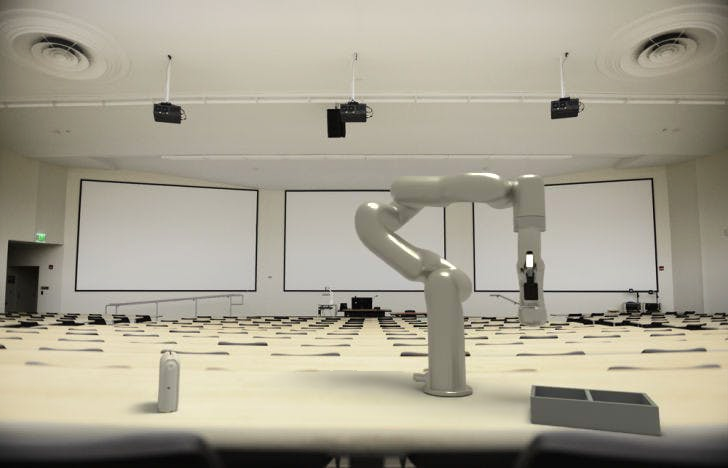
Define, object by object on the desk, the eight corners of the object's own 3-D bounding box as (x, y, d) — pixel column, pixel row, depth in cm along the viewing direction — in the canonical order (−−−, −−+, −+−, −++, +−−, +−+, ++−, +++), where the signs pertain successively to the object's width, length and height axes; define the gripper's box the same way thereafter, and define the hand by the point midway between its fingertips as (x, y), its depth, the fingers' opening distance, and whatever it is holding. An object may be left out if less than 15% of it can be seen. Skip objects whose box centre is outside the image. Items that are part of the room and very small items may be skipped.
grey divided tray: (531, 423, 91) (530, 396, 91) (532, 408, 102) (531, 385, 102) (660, 435, 83) (658, 406, 83) (647, 418, 94) (645, 392, 94)
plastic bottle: (550, 328, 106) (547, 242, 109) (519, 327, 108) (517, 242, 110) (544, 326, 113) (542, 244, 115) (516, 325, 114) (514, 245, 116)
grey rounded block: (179, 411, 100) (181, 353, 102) (157, 414, 99) (160, 355, 100) (176, 401, 110) (179, 348, 111) (157, 403, 108) (159, 349, 109)
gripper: (515, 230, 122) (517, 298, 120) (510, 221, 106) (512, 300, 104) (545, 229, 120) (548, 299, 118) (545, 220, 104) (548, 301, 102)
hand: (531, 299), depth 111 cm, fingers closed on plastic bottle, 5 cm apart
